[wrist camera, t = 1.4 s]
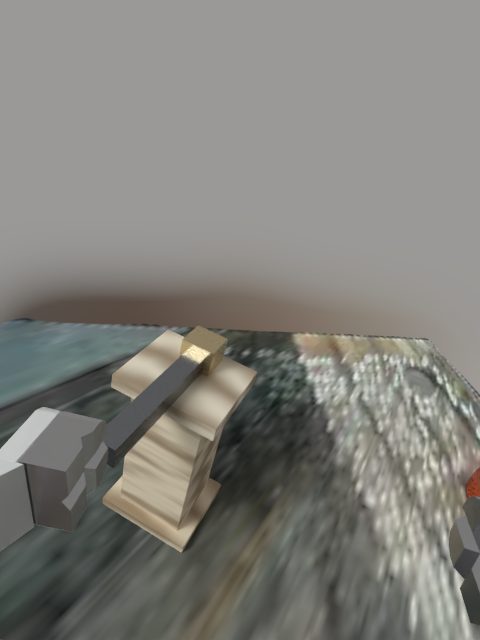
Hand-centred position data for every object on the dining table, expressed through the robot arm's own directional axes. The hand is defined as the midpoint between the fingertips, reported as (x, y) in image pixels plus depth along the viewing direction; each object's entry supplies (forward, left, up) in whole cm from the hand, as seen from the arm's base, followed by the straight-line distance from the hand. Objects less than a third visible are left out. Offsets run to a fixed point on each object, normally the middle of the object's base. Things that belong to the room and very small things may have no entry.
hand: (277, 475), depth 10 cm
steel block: (+11, -28, -27) cm, 41 cm away
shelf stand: (+10, -33, -53) cm, 63 cm away
